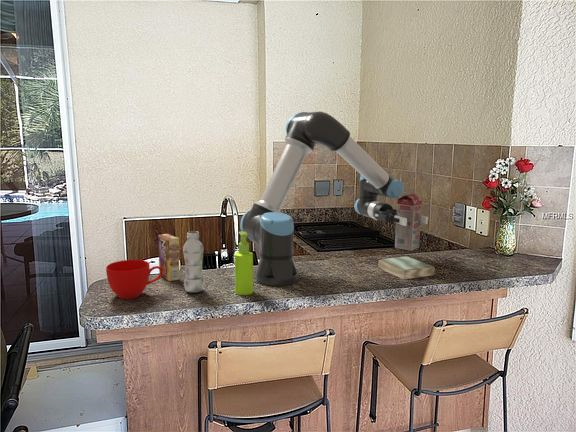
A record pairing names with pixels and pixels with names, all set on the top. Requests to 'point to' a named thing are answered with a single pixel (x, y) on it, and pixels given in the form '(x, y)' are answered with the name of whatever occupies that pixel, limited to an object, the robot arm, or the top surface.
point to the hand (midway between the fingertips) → (416, 221)
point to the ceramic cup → (129, 277)
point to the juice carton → (409, 221)
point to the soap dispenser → (243, 268)
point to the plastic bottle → (193, 263)
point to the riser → (406, 267)
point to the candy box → (169, 257)
